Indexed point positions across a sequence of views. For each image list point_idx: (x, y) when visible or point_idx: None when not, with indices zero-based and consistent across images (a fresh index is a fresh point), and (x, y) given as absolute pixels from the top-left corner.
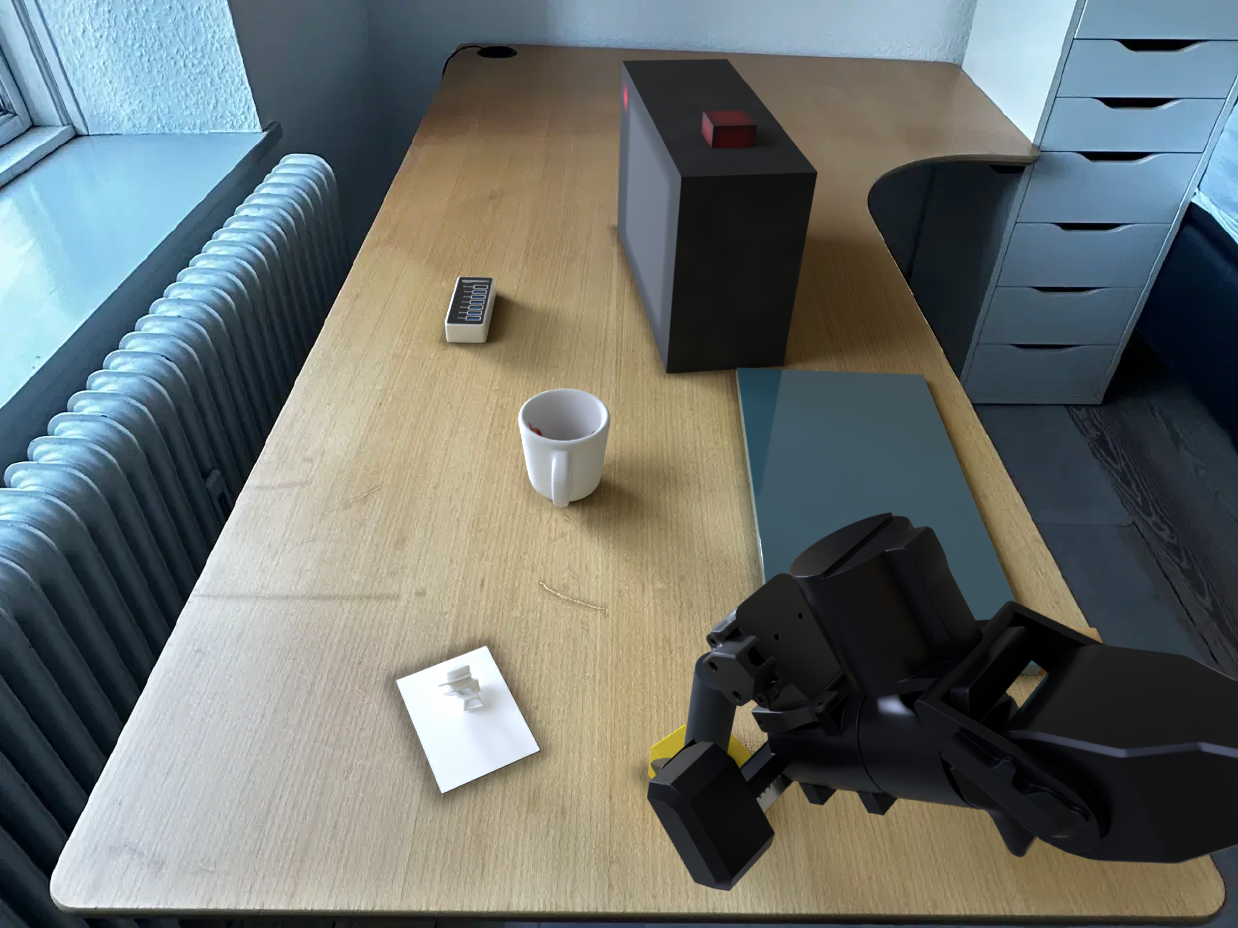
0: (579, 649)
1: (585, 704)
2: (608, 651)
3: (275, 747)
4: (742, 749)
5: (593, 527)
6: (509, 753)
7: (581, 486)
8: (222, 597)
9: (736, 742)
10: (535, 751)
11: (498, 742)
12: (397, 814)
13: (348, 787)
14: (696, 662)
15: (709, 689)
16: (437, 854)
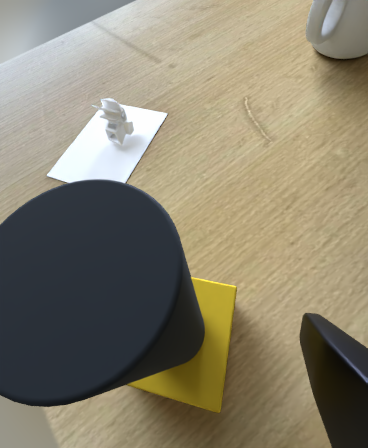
0: (219, 154)
1: (177, 193)
2: (237, 170)
3: (29, 98)
4: (219, 373)
5: (328, 83)
6: None
7: (347, 37)
8: (96, 25)
9: (221, 357)
10: None
11: (103, 172)
12: (20, 168)
13: (24, 137)
14: (61, 185)
15: None
16: (3, 206)
